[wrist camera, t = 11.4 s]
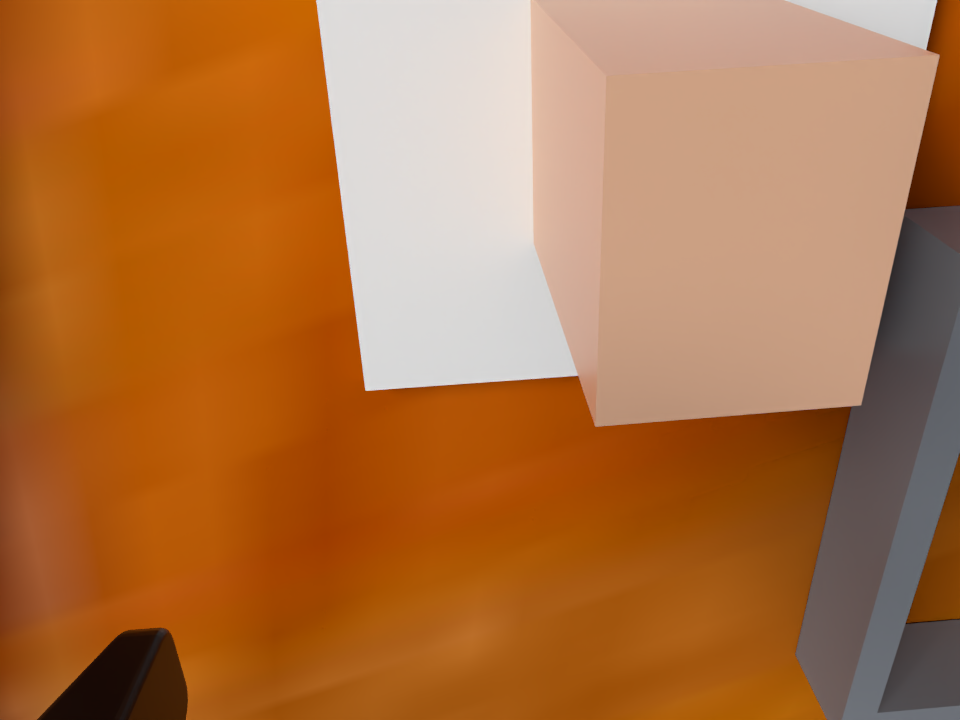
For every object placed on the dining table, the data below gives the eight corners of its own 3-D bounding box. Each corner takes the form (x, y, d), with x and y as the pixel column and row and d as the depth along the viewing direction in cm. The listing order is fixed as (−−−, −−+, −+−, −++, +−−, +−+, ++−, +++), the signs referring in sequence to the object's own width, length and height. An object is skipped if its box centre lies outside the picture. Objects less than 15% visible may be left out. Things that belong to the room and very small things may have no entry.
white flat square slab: (846, 343, 21) (857, 355, 20) (366, 377, 20) (365, 390, 20) (972, -244, 15) (992, -248, 14) (293, -218, 14) (288, -221, 14)
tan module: (713, 230, 19) (861, 404, 12) (533, 243, 18) (594, 426, 12) (739, -16, 16) (940, 54, 10) (530, -4, 16) (606, 75, 10)
